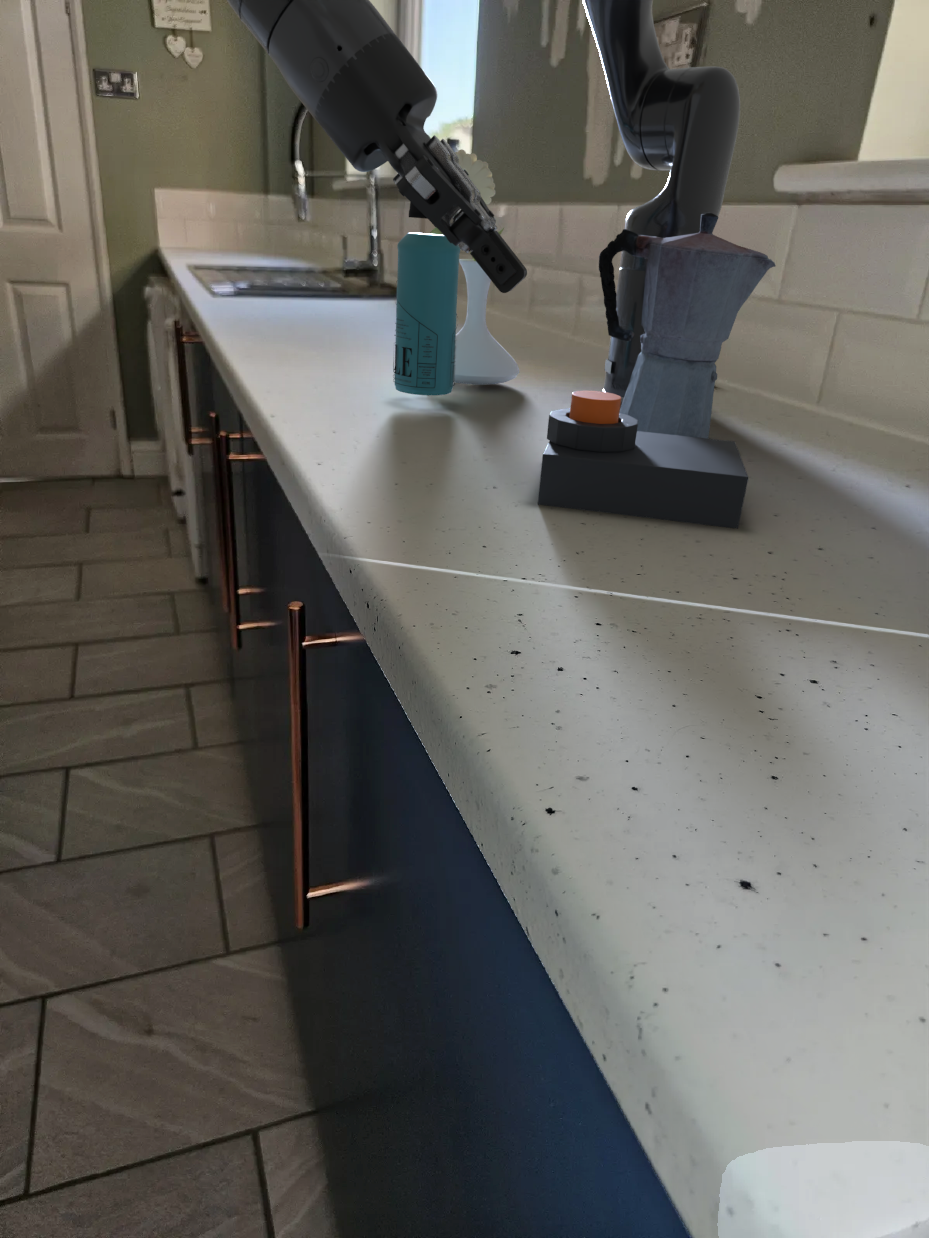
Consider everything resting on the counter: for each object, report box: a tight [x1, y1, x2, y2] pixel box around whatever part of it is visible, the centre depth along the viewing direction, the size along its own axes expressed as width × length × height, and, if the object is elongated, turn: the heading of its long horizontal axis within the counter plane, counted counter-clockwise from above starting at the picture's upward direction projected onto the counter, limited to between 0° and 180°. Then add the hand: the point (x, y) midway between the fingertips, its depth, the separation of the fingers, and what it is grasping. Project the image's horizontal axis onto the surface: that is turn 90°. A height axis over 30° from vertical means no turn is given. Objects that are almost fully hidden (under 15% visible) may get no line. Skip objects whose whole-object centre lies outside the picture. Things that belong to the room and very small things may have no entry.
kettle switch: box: [569, 390, 621, 424], centre depth 64 cm, size 4×4×2 cm
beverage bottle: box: [392, 201, 461, 397], centre depth 88 cm, size 6×7×20 cm
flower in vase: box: [428, 148, 520, 386], centre depth 101 cm, size 13×11×25 cm
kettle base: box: [537, 407, 749, 529], centre depth 65 cm, size 14×11×6 cm
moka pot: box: [598, 213, 776, 439], centre depth 80 cm, size 10×15×20 cm, turn 78°
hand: (516, 284), depth 62 cm, fingers closed
